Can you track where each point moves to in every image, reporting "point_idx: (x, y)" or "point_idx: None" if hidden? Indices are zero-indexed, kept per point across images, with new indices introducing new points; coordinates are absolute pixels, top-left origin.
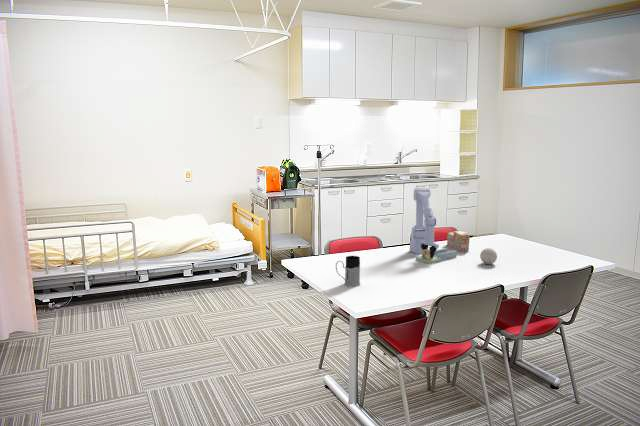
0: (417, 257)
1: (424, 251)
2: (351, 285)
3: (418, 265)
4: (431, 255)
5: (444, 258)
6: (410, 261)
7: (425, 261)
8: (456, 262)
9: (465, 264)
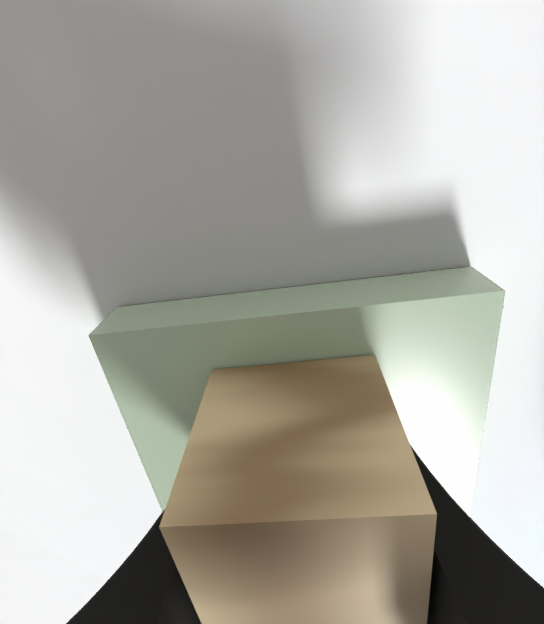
0: (454, 295)
1: (315, 494)
2: None
3: (94, 15)
4: None
5: None
6: (471, 71)
7: (217, 306)
8: None
9: (17, 596)
